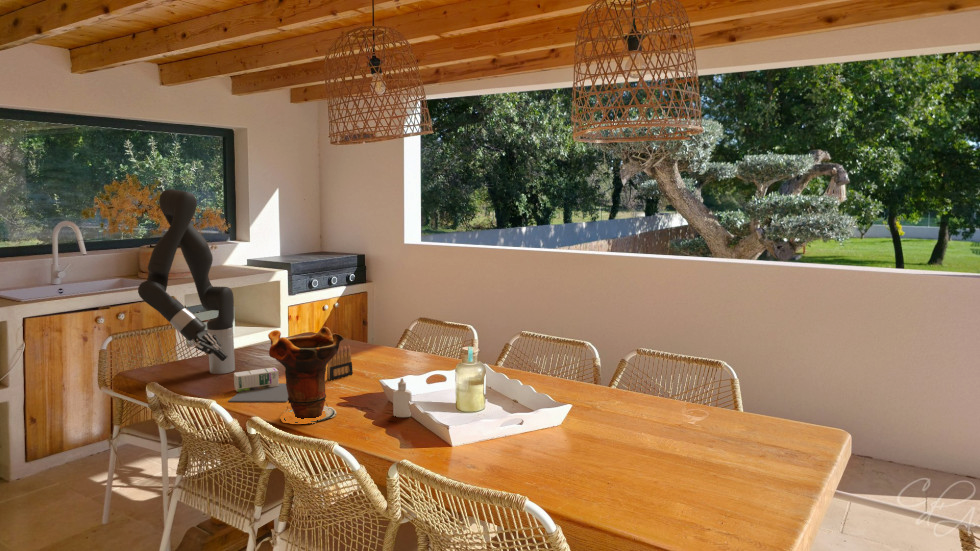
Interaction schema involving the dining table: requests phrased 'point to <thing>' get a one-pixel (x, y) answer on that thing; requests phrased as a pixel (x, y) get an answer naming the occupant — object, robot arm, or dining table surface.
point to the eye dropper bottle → (401, 400)
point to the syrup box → (256, 379)
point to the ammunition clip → (340, 364)
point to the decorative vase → (306, 369)
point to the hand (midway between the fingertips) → (225, 358)
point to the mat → (263, 395)
